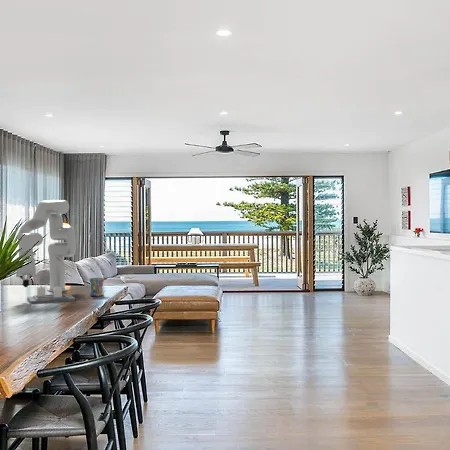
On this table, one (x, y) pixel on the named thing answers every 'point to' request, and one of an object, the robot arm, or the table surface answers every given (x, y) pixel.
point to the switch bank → (50, 299)
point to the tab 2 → (57, 291)
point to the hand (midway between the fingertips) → (25, 287)
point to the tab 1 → (40, 291)
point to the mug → (96, 286)
